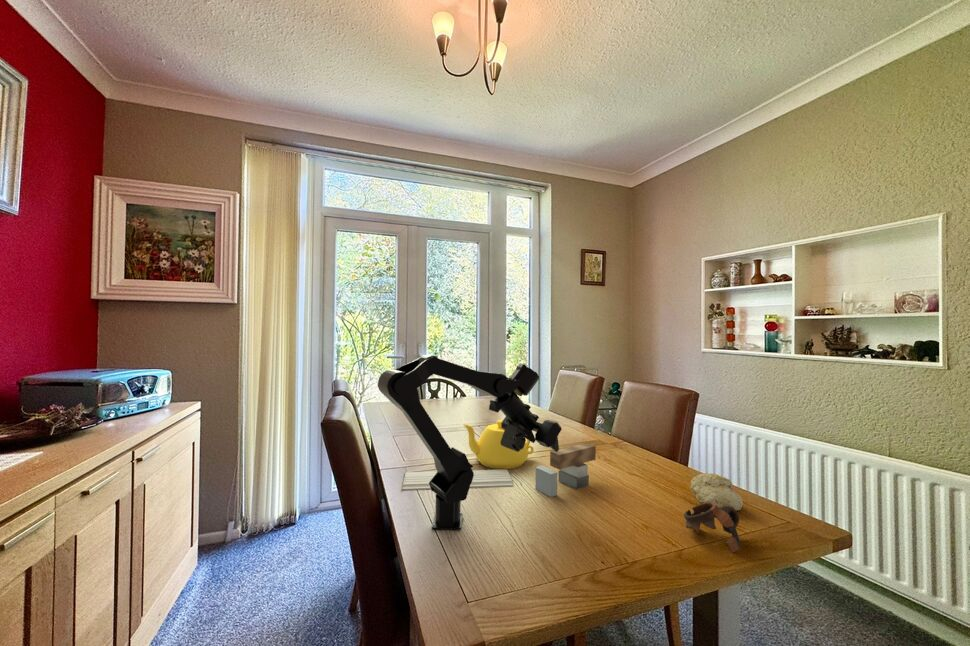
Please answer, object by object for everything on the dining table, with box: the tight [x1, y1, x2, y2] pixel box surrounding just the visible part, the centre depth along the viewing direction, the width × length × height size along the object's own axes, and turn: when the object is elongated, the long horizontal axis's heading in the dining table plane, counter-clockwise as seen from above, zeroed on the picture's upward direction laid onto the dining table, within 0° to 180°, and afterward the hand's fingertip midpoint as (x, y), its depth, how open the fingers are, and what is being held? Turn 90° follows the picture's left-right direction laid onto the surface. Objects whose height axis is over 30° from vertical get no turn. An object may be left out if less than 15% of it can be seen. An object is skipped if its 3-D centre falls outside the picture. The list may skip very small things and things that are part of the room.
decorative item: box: [690, 472, 744, 511], centre depth 95 cm, size 12×9×10 cm
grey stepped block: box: [558, 463, 590, 491], centre depth 107 cm, size 5×7×6 cm
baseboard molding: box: [401, 469, 514, 491], centre depth 107 cm, size 31×3×12 cm
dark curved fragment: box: [683, 502, 742, 554], centre depth 79 cm, size 12×10×8 cm
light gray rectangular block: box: [535, 465, 558, 498], centre depth 101 cm, size 2×6×6 cm, turn 34°
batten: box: [549, 442, 597, 471], centre depth 107 cm, size 15×4×4 cm, turn 124°
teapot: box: [462, 419, 534, 470], centre depth 124 cm, size 25×18×14 cm
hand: (545, 445), depth 101 cm, fingers open, 9 cm apart
